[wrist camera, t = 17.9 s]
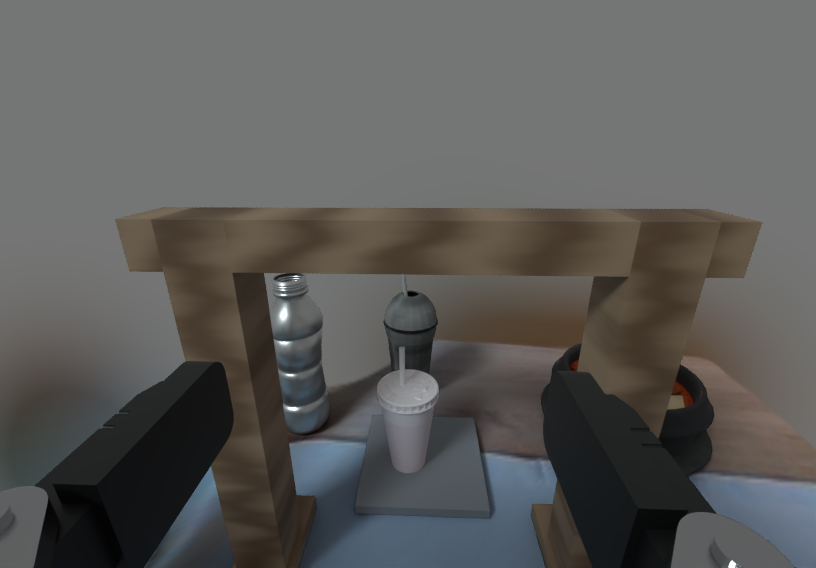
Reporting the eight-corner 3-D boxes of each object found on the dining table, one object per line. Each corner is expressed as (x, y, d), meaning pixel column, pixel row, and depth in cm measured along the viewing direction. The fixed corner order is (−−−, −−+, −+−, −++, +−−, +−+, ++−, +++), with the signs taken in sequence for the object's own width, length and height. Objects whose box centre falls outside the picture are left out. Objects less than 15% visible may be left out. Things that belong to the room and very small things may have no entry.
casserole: (570, 360, 62) (578, 314, 59) (711, 406, 51) (729, 353, 48) (505, 452, 44) (511, 392, 41) (701, 552, 33) (730, 481, 30)
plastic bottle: (268, 434, 47) (243, 284, 40) (300, 401, 53) (283, 265, 46) (314, 447, 45) (295, 291, 38) (341, 411, 51) (330, 270, 44)
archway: (195, 624, 28) (66, 231, 18) (252, 504, 38) (190, 200, 27) (659, 648, 27) (820, 235, 16) (599, 517, 36) (676, 201, 26)
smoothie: (388, 434, 45) (385, 330, 40) (441, 443, 44) (444, 336, 39) (371, 477, 39) (365, 361, 35) (432, 489, 38) (434, 370, 33)
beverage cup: (439, 407, 51) (444, 268, 44) (386, 410, 51) (382, 270, 44) (431, 376, 58) (434, 251, 51) (384, 379, 58) (381, 252, 51)
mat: (355, 513, 37) (354, 505, 36) (372, 421, 49) (372, 414, 48) (489, 518, 36) (490, 510, 36) (473, 423, 48) (473, 417, 48)
